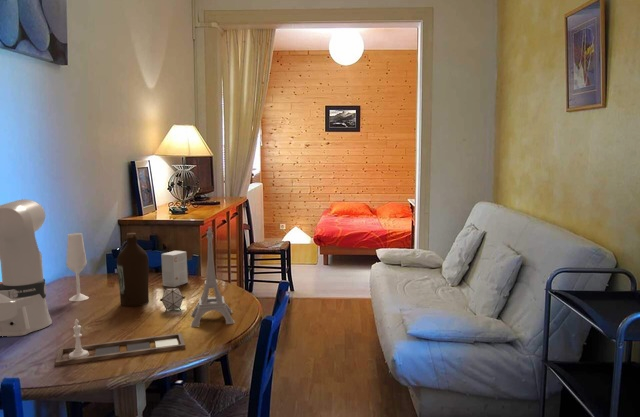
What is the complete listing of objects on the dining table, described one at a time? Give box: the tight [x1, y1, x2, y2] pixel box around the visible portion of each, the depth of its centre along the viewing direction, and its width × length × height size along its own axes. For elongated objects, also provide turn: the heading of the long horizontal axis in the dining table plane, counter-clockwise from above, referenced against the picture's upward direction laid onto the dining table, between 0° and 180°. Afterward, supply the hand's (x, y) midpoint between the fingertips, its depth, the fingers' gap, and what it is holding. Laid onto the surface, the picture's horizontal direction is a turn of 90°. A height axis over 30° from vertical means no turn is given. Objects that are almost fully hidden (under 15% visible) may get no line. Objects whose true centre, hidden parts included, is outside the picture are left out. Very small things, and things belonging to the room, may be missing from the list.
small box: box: [160, 250, 189, 288], centre depth 212 cm, size 8×6×13 cm
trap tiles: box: [94, 342, 151, 356], centre depth 143 cm, size 14×7×1 cm, turn 111°
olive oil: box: [116, 232, 150, 307], centre depth 186 cm, size 11×11×25 cm
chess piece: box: [68, 318, 90, 359], centre depth 139 cm, size 5×5×10 cm
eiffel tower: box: [190, 226, 235, 328], centre depth 168 cm, size 13×13×30 cm
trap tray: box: [55, 332, 186, 367], centre depth 143 cm, size 32×10×1 cm, turn 111°
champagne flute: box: [66, 232, 90, 302], centre depth 191 cm, size 7×7×24 cm
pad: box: [154, 338, 179, 348], centre depth 147 cm, size 6×7×1 cm
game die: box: [159, 285, 186, 313], centre depth 178 cm, size 9×8×10 cm
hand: (23, 296), depth 128 cm, fingers open, 8 cm apart
